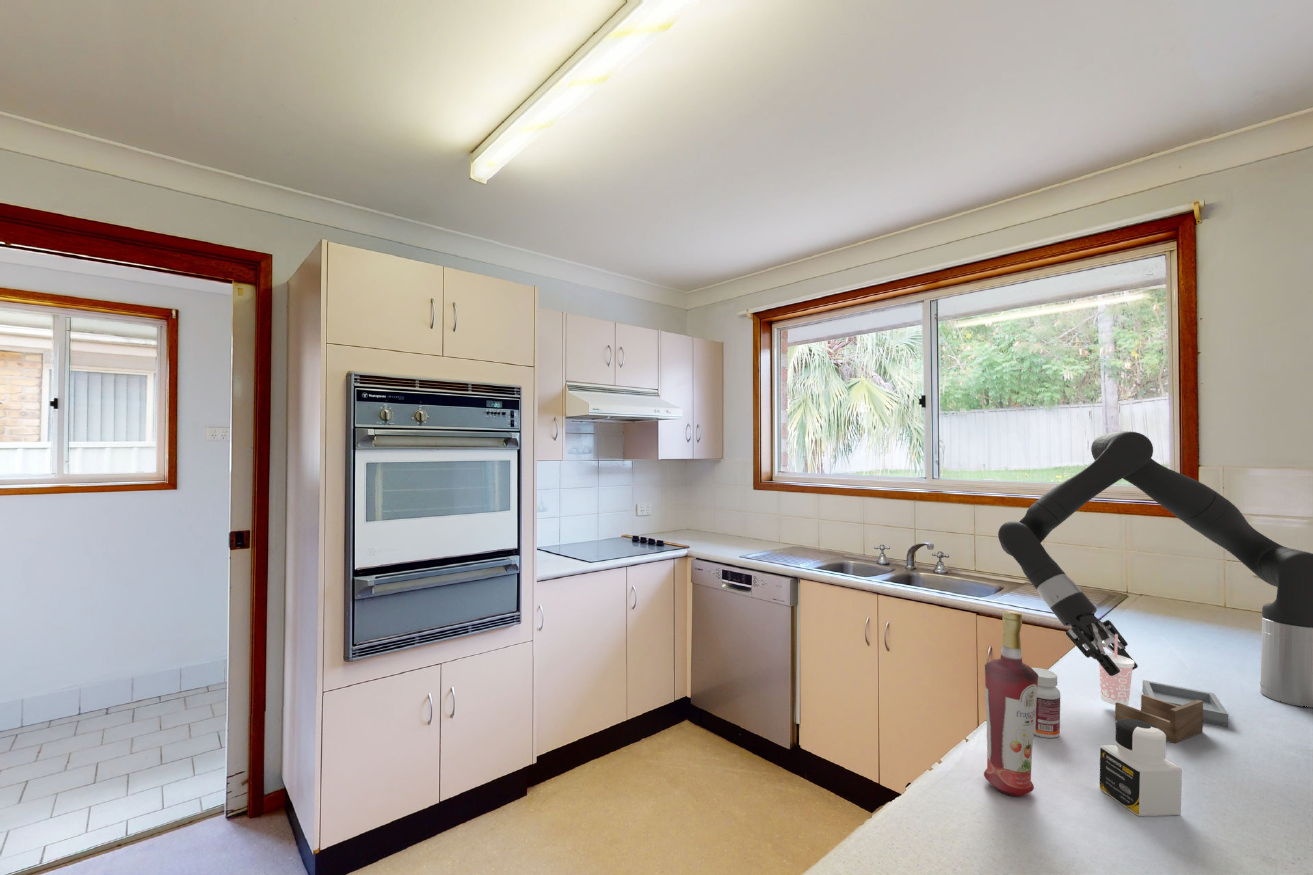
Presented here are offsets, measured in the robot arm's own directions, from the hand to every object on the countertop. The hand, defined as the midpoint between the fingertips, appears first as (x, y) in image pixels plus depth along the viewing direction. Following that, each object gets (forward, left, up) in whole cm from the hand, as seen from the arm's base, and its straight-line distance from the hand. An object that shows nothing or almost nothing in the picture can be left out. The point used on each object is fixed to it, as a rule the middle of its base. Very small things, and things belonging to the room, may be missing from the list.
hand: (1124, 671), depth 122 cm
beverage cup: (+1, -1, -7) cm, 7 cm away
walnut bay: (-5, +3, -9) cm, 10 cm away
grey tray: (-11, -11, -9) cm, 18 cm away
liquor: (+18, +46, -9) cm, 50 cm away
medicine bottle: (+1, +38, -9) cm, 39 cm away
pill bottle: (+14, +20, -9) cm, 26 cm away
